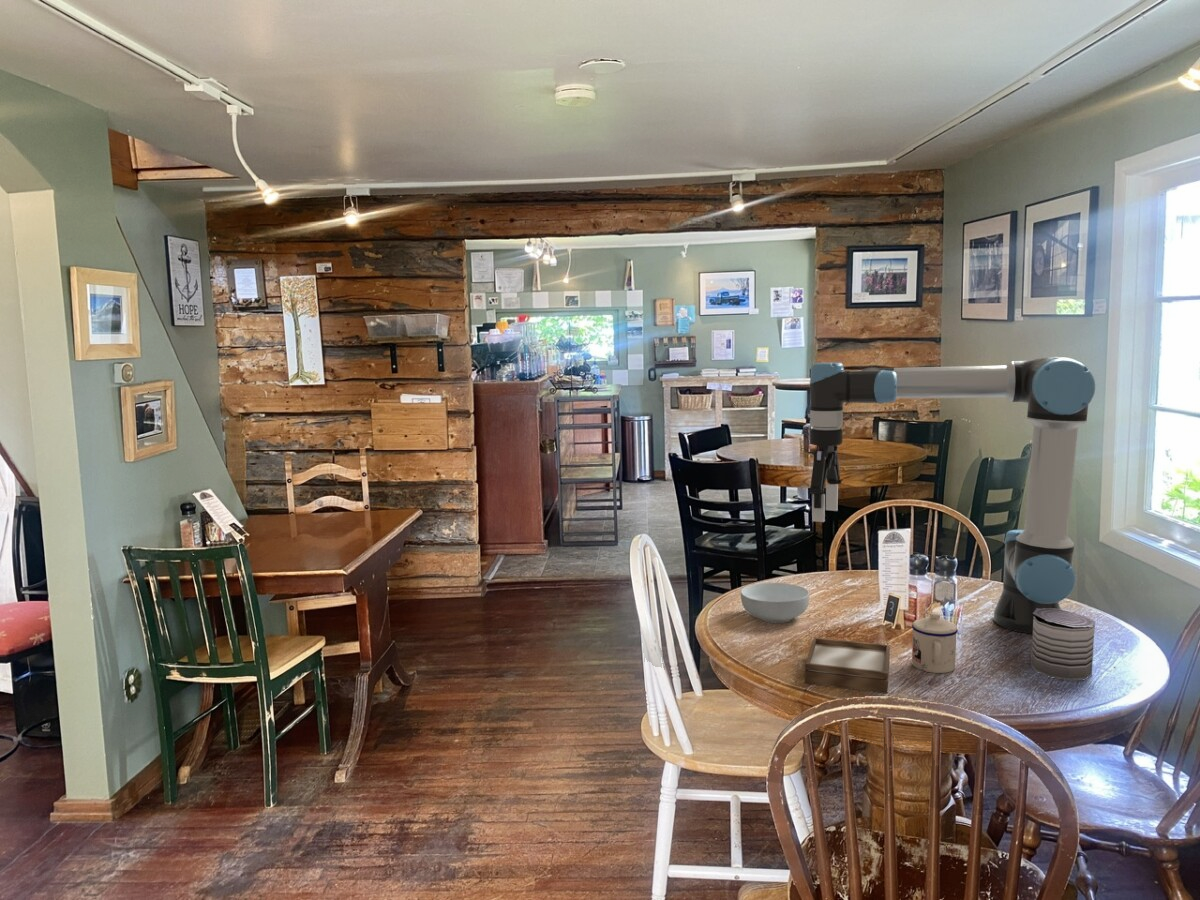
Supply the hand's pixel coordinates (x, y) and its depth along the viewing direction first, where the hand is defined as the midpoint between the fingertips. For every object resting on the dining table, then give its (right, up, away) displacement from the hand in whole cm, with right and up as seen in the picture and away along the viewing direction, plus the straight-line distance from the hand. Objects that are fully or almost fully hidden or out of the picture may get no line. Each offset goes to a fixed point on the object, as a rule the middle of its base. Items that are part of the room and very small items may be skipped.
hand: (825, 515), depth 206 cm
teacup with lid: (+17, -31, -24) cm, 43 cm away
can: (+43, -31, -26) cm, 59 cm away
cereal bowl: (-10, -27, +10) cm, 30 cm away
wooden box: (-2, -31, -26) cm, 40 cm away
